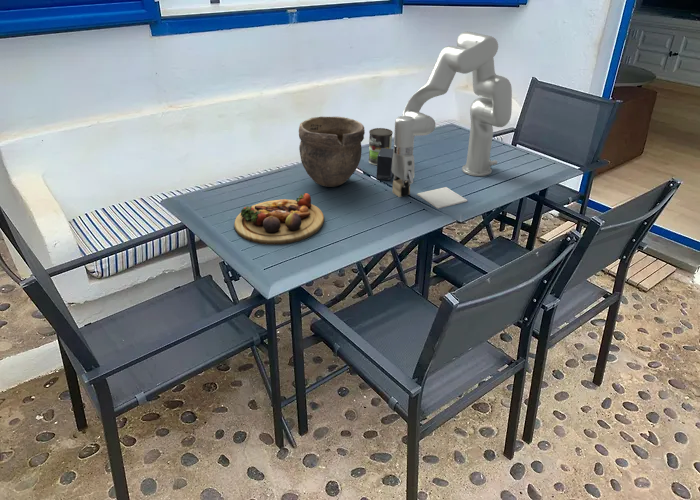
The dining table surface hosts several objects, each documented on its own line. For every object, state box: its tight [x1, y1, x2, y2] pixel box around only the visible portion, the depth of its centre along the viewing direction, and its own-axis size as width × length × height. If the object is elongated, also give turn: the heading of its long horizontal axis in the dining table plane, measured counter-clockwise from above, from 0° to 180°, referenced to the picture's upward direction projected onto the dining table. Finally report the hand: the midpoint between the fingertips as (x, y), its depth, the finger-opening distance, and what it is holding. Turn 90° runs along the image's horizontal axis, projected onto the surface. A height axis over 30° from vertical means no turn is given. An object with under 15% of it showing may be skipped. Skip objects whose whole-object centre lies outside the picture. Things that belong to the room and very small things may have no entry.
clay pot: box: [298, 116, 366, 188], centre depth 220 cm, size 26×26×25 cm
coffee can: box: [368, 127, 394, 166], centre depth 244 cm, size 10×10×14 cm
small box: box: [375, 148, 394, 181], centre depth 231 cm, size 11×6×10 cm, turn 168°
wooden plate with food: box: [234, 192, 325, 246], centre depth 194 cm, size 32×32×8 cm
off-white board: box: [416, 186, 468, 209], centre depth 214 cm, size 14×14×1 cm
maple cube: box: [391, 179, 411, 198], centre depth 217 cm, size 5×5×5 cm
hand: (401, 192), depth 218 cm, fingers closed on maple cube, 4 cm apart
